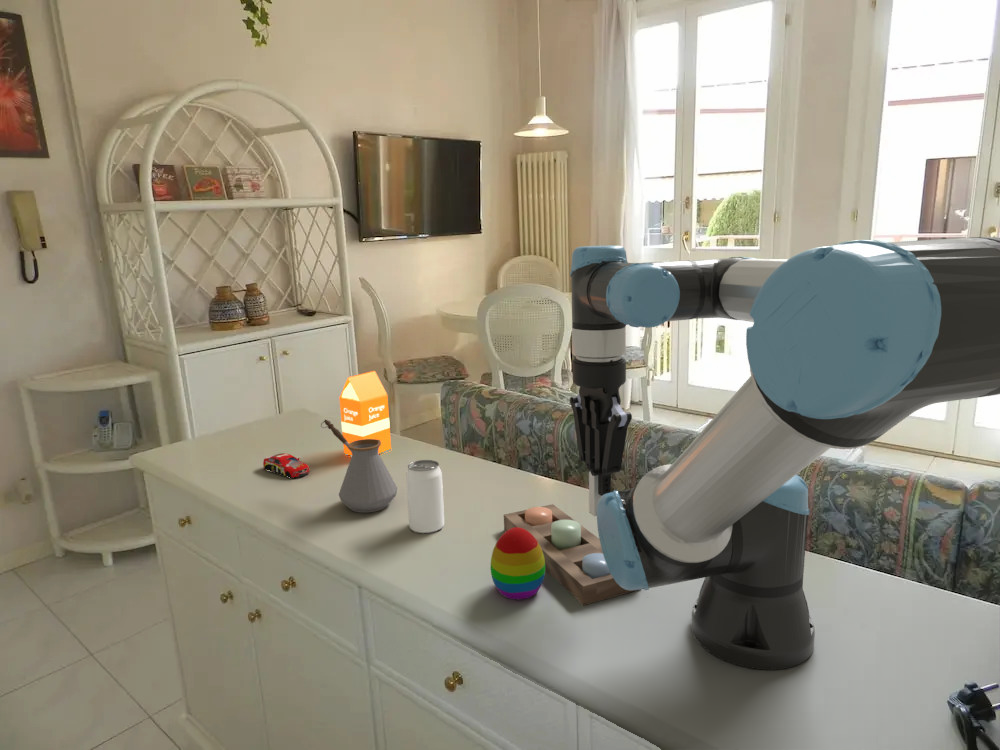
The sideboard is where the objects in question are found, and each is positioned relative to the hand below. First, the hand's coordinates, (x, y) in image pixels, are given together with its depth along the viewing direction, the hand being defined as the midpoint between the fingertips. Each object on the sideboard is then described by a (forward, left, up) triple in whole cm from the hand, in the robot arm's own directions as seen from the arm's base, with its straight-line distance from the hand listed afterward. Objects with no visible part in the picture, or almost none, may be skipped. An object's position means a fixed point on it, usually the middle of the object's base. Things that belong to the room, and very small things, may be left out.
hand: (599, 512), depth 101 cm
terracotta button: (+20, 0, -11) cm, 23 cm away
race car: (+76, +37, -12) cm, 85 cm away
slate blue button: (0, 0, -11) cm, 11 cm away
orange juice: (+80, +17, -12) cm, 83 cm away
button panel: (+10, 0, -12) cm, 15 cm away
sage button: (+10, 0, -10) cm, 14 cm away
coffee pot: (+52, +26, -12) cm, 59 cm away
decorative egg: (+4, +12, -12) cm, 17 cm away
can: (+32, +17, -12) cm, 38 cm away
